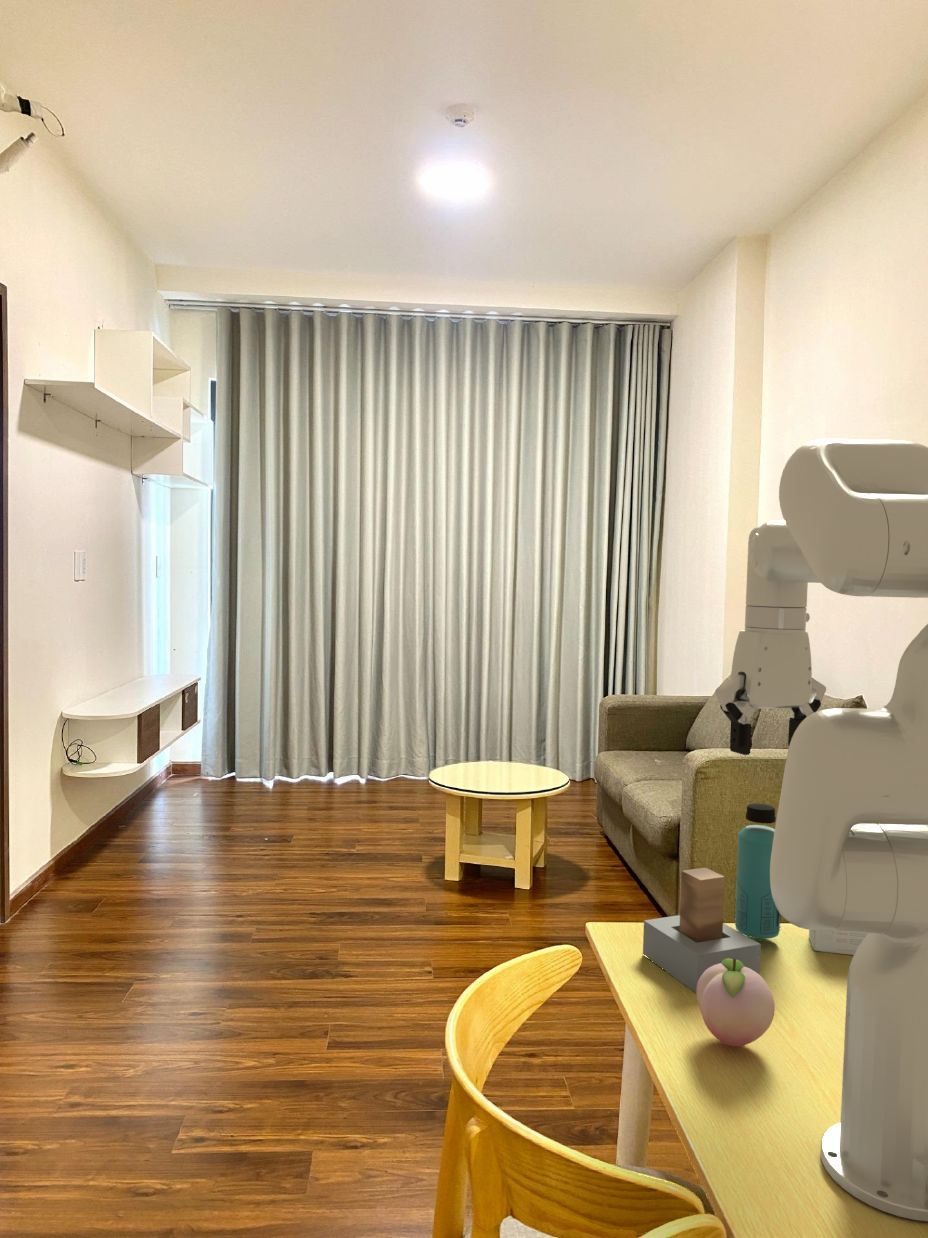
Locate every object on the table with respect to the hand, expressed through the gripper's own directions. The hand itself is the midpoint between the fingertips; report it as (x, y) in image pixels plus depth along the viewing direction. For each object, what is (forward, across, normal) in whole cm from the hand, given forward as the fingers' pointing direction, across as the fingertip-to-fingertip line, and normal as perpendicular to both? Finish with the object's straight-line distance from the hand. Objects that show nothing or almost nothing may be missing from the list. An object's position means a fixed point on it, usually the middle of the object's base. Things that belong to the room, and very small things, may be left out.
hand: (769, 751), depth 118 cm
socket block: (+30, +6, -5) cm, 31 cm away
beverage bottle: (+31, -8, -10) cm, 33 cm away
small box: (+31, -18, -4) cm, 36 cm away
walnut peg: (+29, +6, -5) cm, 30 cm away
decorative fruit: (+31, +15, +13) cm, 36 cm away
